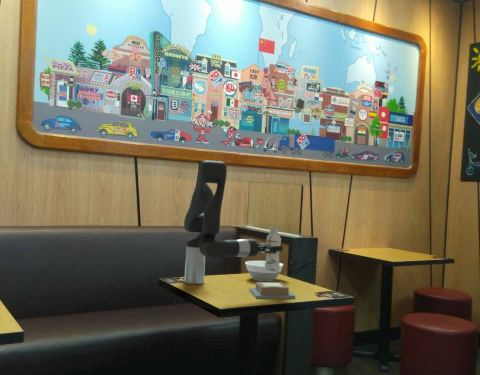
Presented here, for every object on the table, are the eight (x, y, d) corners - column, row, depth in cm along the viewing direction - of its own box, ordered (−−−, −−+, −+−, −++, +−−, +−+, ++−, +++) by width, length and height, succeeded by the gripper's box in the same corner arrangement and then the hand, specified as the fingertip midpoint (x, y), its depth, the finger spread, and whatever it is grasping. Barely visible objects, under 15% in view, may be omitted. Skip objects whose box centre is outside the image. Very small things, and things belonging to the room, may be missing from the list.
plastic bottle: (270, 270, 228) (272, 226, 228) (282, 273, 224) (284, 227, 224) (261, 272, 223) (263, 226, 223) (273, 274, 219) (276, 228, 219)
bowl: (268, 285, 246) (269, 267, 246) (236, 279, 257) (237, 262, 257) (289, 280, 261) (290, 264, 261) (258, 274, 273) (259, 259, 273)
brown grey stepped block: (256, 298, 215) (256, 288, 215) (249, 290, 230) (249, 280, 230) (295, 298, 218) (295, 288, 218) (285, 290, 233) (286, 281, 233)
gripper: (254, 241, 210) (287, 241, 219) (237, 237, 223) (269, 237, 231) (253, 259, 210) (286, 258, 219) (236, 254, 223) (268, 253, 231)
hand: (277, 247), depth 225 cm, fingers closed on plastic bottle, 6 cm apart
